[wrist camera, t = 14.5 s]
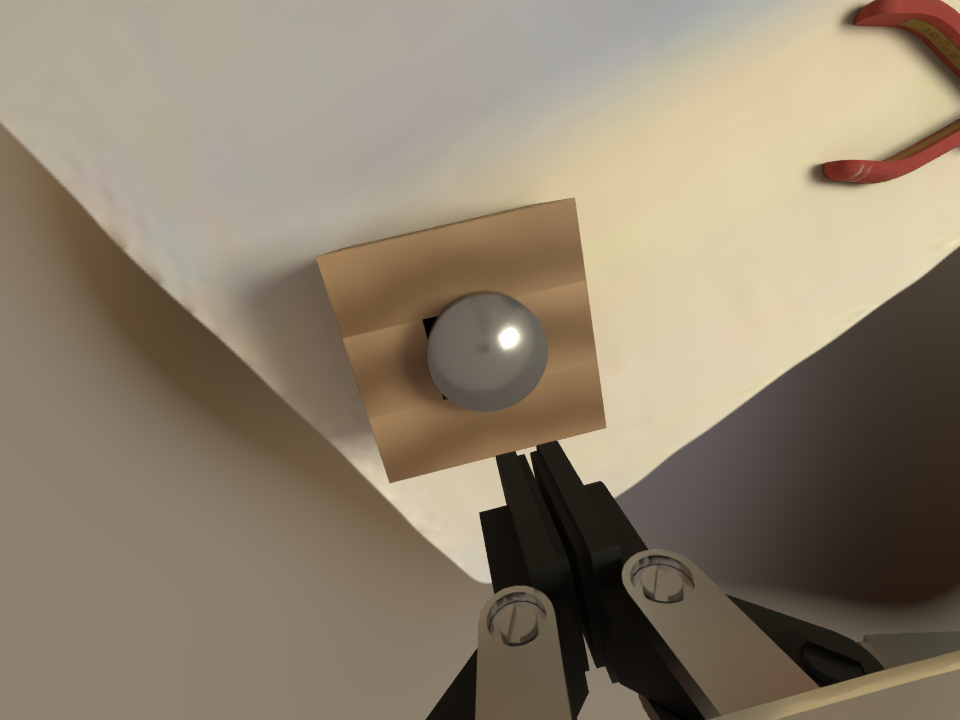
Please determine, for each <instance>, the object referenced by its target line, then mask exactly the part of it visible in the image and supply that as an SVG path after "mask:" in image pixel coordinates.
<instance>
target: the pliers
mask: <svg viewBox="0 0 960 720" xmlns="http://www.w3.org/2000/svg"><path fill="white" fill-rule="evenodd" d="M854 25H859V26H889V27H898V28H902V29H906V30H908V31H910V32H912V33H913V34H915V35H916V36H918V37H919V38H920V39H922V40H923V41H924V42H925V43H926V44H927V45H928V46H929V47H930V48H931V49H932V50H933V51H934V52H935V53H936V54H937V55H938V56H939V57H940V58H941V59H942V60H943V62H944V63H945V64H946V65H947V66H948V67H949V68H950V69H951V70H952V71H953V72H954V73H955V74H956V75H957V76H958V77H959V78H960V14H959V13H958V12H957V11H956V10H955V9H953V8H952V7H950V6H949V5H948V4H946V3H944V2H942V1H941V0H875V1H873V2H871V3H869V4H868V5H866V6H865V7H864V8H863V9H862V10H861V11H860V12H859V13H858V15H857V17H856V19H855V23H854ZM959 145H960V119H959V120H957V121H955V122H954V123H952V124H950V125H948V126H946V127H945V128H943V129H941V130H939V131H938V132H936V133H934V134H932V135H930V136H929V137H927V138H925V139H923V140H921V141H920V142H918V143H916V144H914V145H913V146H911V147H909V148H907V149H905V150H904V151H902V152H900V153H898V154H896V155H895V156H893V157H891V158H889V159H886V160H884V161H868V160H840V161H832V162H826V163H824V169H823V172H824V174H825V175H826V177H828V178H830V179H832V180H835V181H847V182H859V183H871V184H873V183H880V182H886V181H889V180H892V179H895V178H898V177H900V176H903V175H905V174H907V173H910V172H912V171H914V170H916V169H918V168H920V167H921V166H923V165H925V164H927V163H929V162H930V161H932V160H934V159H936V158H938V157H939V156H941V155H943V154H945V153H947V152H948V151H950V150H952V149H954V148H956V147H957V146H959Z"/></svg>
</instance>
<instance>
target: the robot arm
mask: <svg viewBox="0 0 960 720" xmlns="http://www.w3.org/2000/svg"><path fill="white" fill-rule="evenodd" d="M536 447H537V451H534V452H530V455H531V461H532V466H533V471H534V475H533V473H532V471H531V468H530V466H529V464H528V461H527V459H526V456H525V454H523V455H519V456H517V454H516V451H512V452H508V453H504V454H500V455H496V461H497V466H498V470H499V474H500V478H501V483H502V487H503V491H504V496H505V500H506V504H507V505H506V506H502V507H499V508H495V509H491V510H487V511H483V512H479V514H480V520H481V525H482V531H483V536H484V542H485V547H486V552H487V558H488V563H489V568H490V574H491V579H492V584H493V589H494V595H493V596H492V597H491V598H490V599H489V600H488V601H487V602H486V603H485V605H484V607H483V609H482V610H481V612H480V617H479V622H478V648H477V649H476V651H475V652H474V653H473V655H472V656H471V657H470V659H469V660H468V662H467V663H466V664H465V666H464V667H463V669H462V670H461V671H460V673H459V674H458V675H457V677H456V678H455V680H454V681H453V682H452V684H451V685H450V687H449V688H448V689H447V691H446V692H445V693H444V695H443V696H442V698H441V699H440V700H439V702H438V703H437V705H436V706H435V707H434V709H433V710H432V712H431V713H430V714H429V716H428V717H427V719H426V720H577V716H578V714H579V712H580V710H581V708H582V706H583V704H584V701H585V699H586V697H587V695H588V693H589V691H588V686H587V681H586V676H585V671H589V665H588V659H587V654H586V648H585V643H584V638H583V635H584V637H585V640H586V642H587V645H588V648H589V650H590V653H591V656H592V658H593V660H594V663H595V665H596V667H597V668H600V667H604V666H605V667H606V669H607V671H608V674H609V676H610V679H611V681H612V683H617V682H620V684H622V685H624V686H626V687H627V688H629V689H631V690H633V691H635V692H637V693H638V696H639V699H640V701H641V704H642V706H643V708H644V710H645V712H646V713H647V715H648V717H649V718H650V720H960V631H956V632H955V631H954V632H927V633H901V634H874V635H864V636H863V642H855V641H853V640H852V639H850V638H848V637H845V636H843V635H841V634H839V633H836V632H834V631H831V630H828V629H826V628H823V627H820V626H817V625H814V624H811V623H808V622H805V621H802V620H799V619H796V618H793V617H791V616H787V615H785V614H782V613H779V612H776V611H773V610H770V609H767V608H764V607H761V606H758V605H756V604H753V603H749V602H747V601H744V600H741V599H738V598H735V597H732V596H729V595H726V594H724V593H723V592H722V591H721V590H720V589H719V588H718V587H717V586H716V585H715V584H714V583H713V582H712V581H710V579H709V578H708V577H707V576H706V575H704V573H703V572H702V571H701V570H700V569H698V568H697V567H696V566H695V565H694V564H693V563H692V562H690V561H689V560H688V559H687V558H685V557H684V556H681V555H679V554H677V553H674V552H671V551H666V550H661V549H656V550H648V548H647V547H646V545H645V544H644V543H643V541H642V540H641V538H640V537H639V535H638V534H637V532H636V531H635V529H634V528H633V526H632V525H631V523H630V522H629V520H628V519H627V517H626V516H625V514H624V513H623V511H622V510H621V508H620V507H619V505H618V504H617V502H616V501H615V499H614V498H613V496H612V495H611V493H610V492H609V491H608V489H607V488H606V486H605V485H604V484H603V482H601V481H598V482H595V483H591V484H587V485H583V483H582V481H581V480H580V478H579V476H578V475H577V473H576V471H575V470H574V468H573V466H572V465H571V463H570V461H569V460H568V458H567V456H566V454H565V453H564V451H563V449H562V448H561V446H560V444H559V443H558V441H557V440H555V441H551V442H547V443H543V444H539V445H537V446H536ZM534 476H535V478H534Z"/></svg>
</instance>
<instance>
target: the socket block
mask: <svg viewBox="0 0 960 720" xmlns="http://www.w3.org/2000/svg"><path fill="white" fill-rule="evenodd" d="M316 260H317V263H318V266H319V269H320V272H321V275H322V278H323V281H324V284H325V287H326V291H327V294H328V297H329V300H330V303H331V306H332V309H333V312H334V315H335V318H336V321H337V324H338V327H339V330H340V333H341V336H342V339H343V342H344V345H345V348H346V351H347V354H348V358H349V361H350V364H351V367H352V370H353V373H354V376H355V379H356V382H357V385H358V388H359V391H360V394H361V397H362V400H363V403H364V406H365V409H366V412H367V415H368V418H369V422H370V425H371V428H372V431H373V434H374V437H375V440H376V443H377V446H378V449H379V452H380V455H381V458H382V461H383V464H384V467H385V470H386V473H387V476H388V479H389V482H390V483H393V482H396V481H400V480H404V479H408V478H412V477H416V476H420V475H424V474H428V473H432V472H436V471H439V470H443V469H447V468H451V467H455V466H459V465H463V464H467V463H471V462H475V461H479V460H483V459H486V458H490V457H494V456H496V455H500V454H504V453H508V452H512V451H518V450H522V449H526V448H529V447H533V446H537V445H539V444H543V443H547V442H551V441H555V440H561V439H565V438H569V437H573V436H576V435H580V434H584V433H588V432H592V431H596V430H600V429H604V428H606V421H605V414H604V407H603V399H602V392H601V385H600V377H599V370H598V363H597V356H596V348H595V341H594V334H593V327H592V319H591V312H590V305H589V298H588V290H587V283H586V276H585V269H584V261H583V254H582V247H581V240H580V232H579V225H578V218H577V211H576V203H575V198H570V199H563V200H557V201H551V202H545V203H539V204H534V205H530V206H525V207H521V208H517V209H512V210H508V211H504V212H499V213H495V214H490V215H486V216H482V217H477V218H473V219H469V220H464V221H460V222H455V223H451V224H447V225H442V226H438V227H434V228H429V229H425V230H420V231H416V232H412V233H407V234H403V235H399V236H394V237H390V238H385V239H381V240H377V241H372V242H368V243H364V244H359V245H355V246H350V247H346V248H342V249H339V250H336V251H333V252H330V253H326V254H323V255H320V256H317V257H316ZM476 291H496V292H501V293H504V294H507V295H509V296H511V297H513V298H515V299H517V300H518V301H519V302H521V303H522V304H523V305H525V306H526V307H527V308H528V309H529V310H530V311H531V312H532V313H533V314H534V315H535V316H536V317H537V319H538V320H539V321H540V323H541V325H542V327H543V329H544V331H545V334H546V338H547V343H548V359H547V365H546V368H545V371H544V374H543V376H542V378H541V380H540V381H539V383H538V385H537V386H536V387H535V389H534V390H533V391H532V392H531V393H530V394H529V395H528V396H527V397H526V398H524V399H523V400H522V401H520V402H518V403H517V404H515V405H513V406H511V407H509V408H506V409H502V410H498V411H493V412H478V411H472V410H468V409H465V408H463V407H460V406H458V405H456V404H455V403H453V402H451V401H450V400H449V399H448V398H446V397H445V396H444V395H443V394H442V393H441V392H440V390H439V389H438V388H437V386H436V385H435V383H434V381H433V379H432V377H431V374H430V371H429V366H428V356H427V344H428V337H429V332H430V330H431V327H430V323H429V319H428V318H431V317H435V316H438V315H439V313H440V312H441V311H442V310H443V309H444V308H445V307H446V306H447V305H448V304H449V303H451V302H452V301H453V300H455V299H457V298H458V297H461V296H463V295H465V294H468V293H471V292H476Z"/></svg>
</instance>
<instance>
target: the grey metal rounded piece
mask: <svg viewBox="0 0 960 720" xmlns="http://www.w3.org/2000/svg"><path fill="white" fill-rule="evenodd" d="M427 356H428V366H429V371H430V374H431V377H432V379H433V381H434V383H435V385H436V386H437V388H438V389H439V390H440V392H441V393H442V394H443V395H444V396H445V397H446V398H448V399H449V400H450V401H451V402H453V403H455V404H456V405H458V406H460V407H463V408H465V409H468V410H472V411H478V412H493V411H498V410H502V409H506V408H509V407H511V406H513V405H515V404H517V403H518V402H520V401H522V400H523V399H524V398H526V397H527V396H528V395H529V394H530V393H531V392H532V391H533V390H534V389H535V387H536V386H537V385H538V383H539V381H540V380H541V378H542V376H543V374H544V371H545V368H546V365H547V359H548V343H547V338H546V334H545V331H544V329H543V327H542V325H541V323H540V321H539V320H538V319H537V317H536V316H535V315H534V314H533V313H532V312H531V311H530V310H529V309H528V308H527V307H526V306H525V305H523V304H522V303H521V302H519V301H518V300H517V299H515V298H513V297H511V296H509V295H507V294H504V293H501V292H496V291H476V292H471V293H468V294H465V295H463V296H461V297H458V298H457V299H455V300H453V301H452V302H451V303H449V304H448V305H447V306H446V307H445V308H444V309H443V310H442V311H441V312H440V313H439V315H438V316H437V317H436V319H435V321H434V323H433V325H432V327H431V330H430V332H429V337H428V344H427Z"/></svg>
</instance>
